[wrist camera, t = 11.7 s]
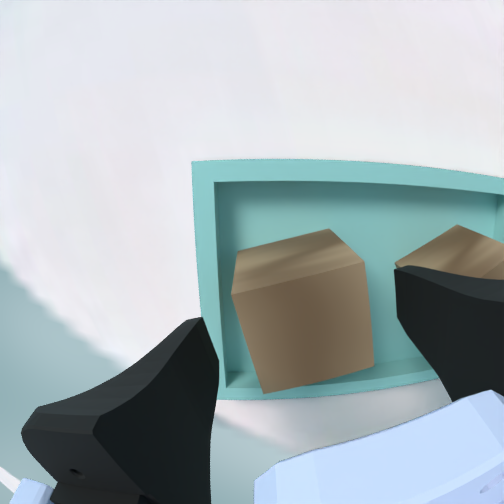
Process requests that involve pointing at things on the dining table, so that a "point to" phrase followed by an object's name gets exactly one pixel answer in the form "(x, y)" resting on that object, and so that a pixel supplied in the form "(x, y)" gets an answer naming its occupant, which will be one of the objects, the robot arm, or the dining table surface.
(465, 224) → the tray
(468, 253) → the block
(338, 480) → the robot arm
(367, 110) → the dining table surface
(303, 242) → the block
